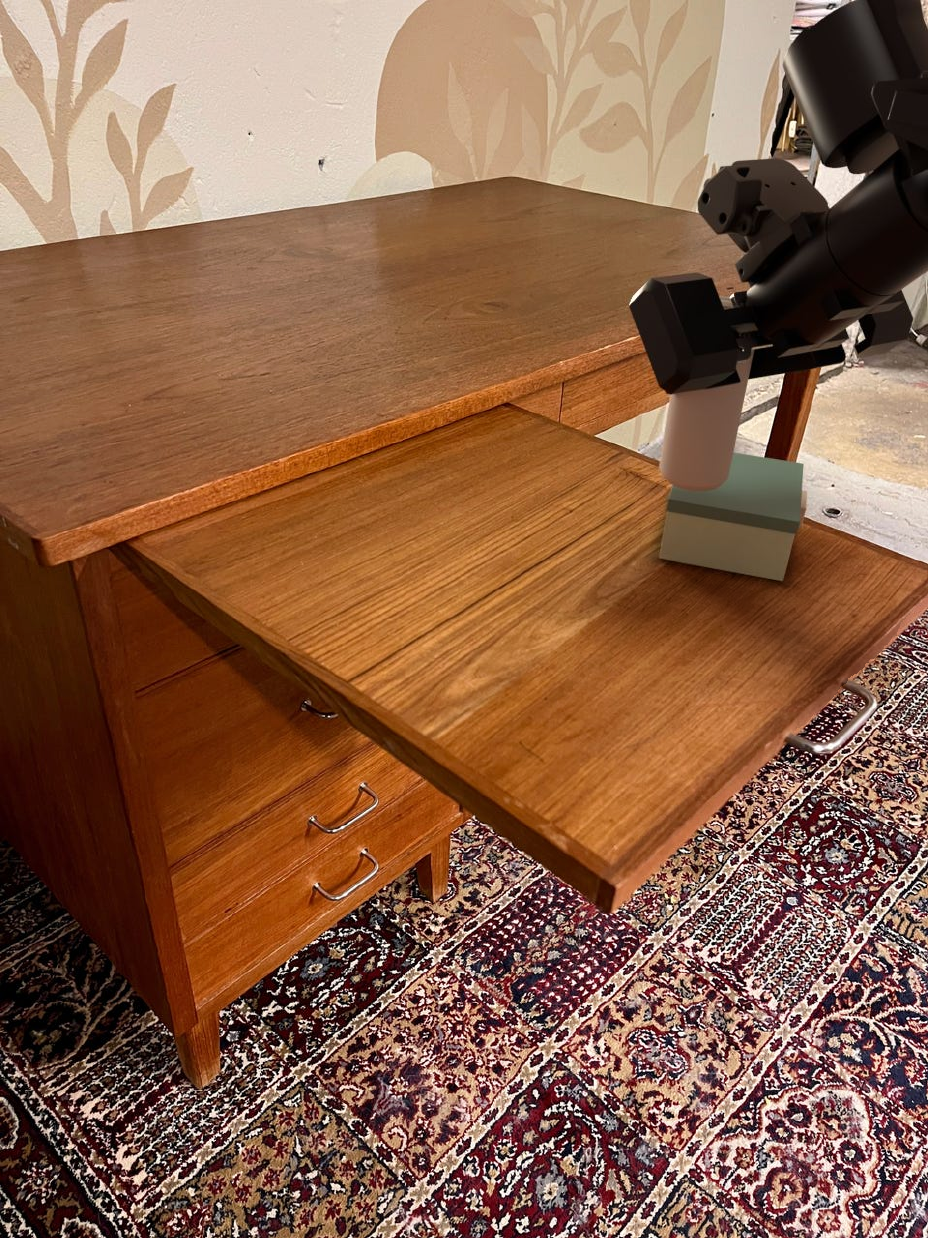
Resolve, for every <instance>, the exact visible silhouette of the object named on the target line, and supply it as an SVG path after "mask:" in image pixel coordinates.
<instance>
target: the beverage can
mask: <svg viewBox="0 0 928 1238" xmlns="http://www.w3.org/2000/svg"><path fill="white" fill-rule="evenodd" d="M719 297H720V300H721V302H722V305H723V307H724V309H730V308H734V307H733V305H732V302H731V299H730V297H731V296H722V295H719ZM753 354H754V350H751V357H750V358H749V359H748V360H747V361H746V362H744V363H740V364H737V365H736V370H737V372H738V375H739V378H740V380H741V382H740V383H738V384H732V385H727V386H722V387H717V388H712V389H703V390H696V391H688V392H682V393H676V394H671V395H670V394H669V400H668V405H667V406H668V407H667V413H666V420H665V426H664V434H663V440H662V446H661V454H660V459H659V465H658V468H659V471H660V474H661V475H662V477H663V479H664V480H665V481H667V483H668V484H670V485H674V486H676V487H678V488H681V489H684V490H690V491H709V490H713V489H716V488H718V487H719V486H721V485H722V484H723V483H724V482H725V481H726V480H727V479H728V476H729V471H730V467H731V462H732V457H733V453H735V452H734V451H735V446H736V442H737V436H738V432H739V428H740V423H741V416H742V412H743V407H744V403H745V398H746V393H747V388H748V383H749V380H750V379H749V374H750V369H751V364H752V359H753ZM748 379H749V380H748Z"/></svg>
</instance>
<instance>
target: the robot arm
mask: <svg viewBox="0 0 928 1238" xmlns="http://www.w3.org/2000/svg"><path fill="white" fill-rule="evenodd" d="M922 5H923V4H922V1H921V0H852V1H850V2H848V3H846V4H844V5H842V6H839V7H838V8H836V9H834V10H833V11H831V12H829V13H827V15H825V16H824V17H822V18H821V19H819V20H818V21H817V22H815V23H814V24H810V25H808V26H806V27H804V28H803V29H802V30H801V31H800V32H799V34H798V35H796V36H795V38H794V39H793V40H792V41H791V43H790V45H789V46H788V48H787V50H786V51H785V54H784V56H783V61H782V68H783V72H784V75H785V77H786V79H787V81H788V85H789V87H790V89H791V92H792V94H793V96H794V98H795V101H796V104H797V106H798V109H799V111H800V114H801V116H802V118H803V121H804V123H805V125H806V128H807V130H808V132H809V135H810V138H811V141H812V143H813V145H814V147H815V151H816V152H817V155H818V157H819V160H820V162H821V165H823V166H824V167H825V168H829V169H842V168H847V170H848V172H849V174H851V175H862V174H863V175H864V174H867V173H869V174H868V175H866V176H865V177H864V178H863V179H862V180H861V181H860V182H859V183H857V184H856V185H855V186H854V187H853V188H852V189H850V190H849V191H848V192H847V193H846V194H845V195H844V196H843V197H842V198H840V199H839V200H837V202H836V203H834V204H833V205H832V206H831V207H830V206H829V202H828V200H827V199H826V198H825V196H823V194H822V193H821V192H820V191H819V190H818V188H816V187H815V186H814V184H813V183H812V182H811V181H810V180H809V179H808V178H807V176H805V175H804V174H803V173H802V172H801V170H799V168H798V167H796V166H795V165H794V164H793V163H792V162H790V161H788V160H785V159H782V158H777V157H776V158H775V157H774V158H759V159H745V160H744V159H743V160H736V161H733V162H732V164H731V165H721V166H720V167H719V169H718V171H717V172H716V173H715V174H714V175H713V176H712V177H709V178H707V179H705V181H704V183H703V185H702V186H703V187H702V191H701V192H700V194H699V197H698V199H697V202H696V203H697V212H698V214H699V215H700V216H701V218H702V219H703V220H704V221H705V223H706V224H707V225H708V226H709V227H710V229H712V231H713V232H714V233H715V234H716V236H717V235H718V236H719V235H727V236H728V237H729V239H731V241H733V243H734V244H735V245H736V247H738V248H739V249H740V251H742V252H743V253H744V254H743V255H742V256H741V257H740V258H739V259H738V260H736V261H735V262H734V267H735V269H736V272H737V275H738V277H739V279H740V281H741V283H748V286H749V289H748V290H742V291H735V292H734V293H732V294H731V295H730V296H729V297H730V299H731V302H732V305H733V307H734V308H730V309H724V307H723V305H722V302H721V300H720V297H719V296H720V294H719V292H718V290H717V287H716V285H715V281H714V279H713V277H711V276H709V275H705V274H704V273H700V272H697V271H696V272H689V273H688V272H687V273H681V274H680V273H679V274H672V275H665V276H657V277H650V278H649V279H648V280H647V281H646V282H645V283H644V284H643V285H642V286H641V287H640V288H639V289H638V290H637V291H636V292H635V293H634V294H633V296H632V298H631V300H630V302H629V305H628V308H629V310H630V314H631V316H632V318H633V321H634V323H635V326H636V329H637V331H638V334H639V337H640V339H641V343H642V345H643V348H644V350H645V353H646V356H647V358H648V360H649V363H650V366H651V369H652V371H653V374H654V377H655V379H656V382H657V385H658V387H659V389H662V390H663V391H664V392H665V394H666V395H669V396H670V395H671V394H676V393H682V392H688V391H696V390H703V389H712V388H717V387H722V386H727V385H732V384H738V383H740V382H741V380H740V378H739V375H738V372H737V370H736V365H737V364H740V363H744V362H746V361H747V360H748V359H749V358H750V357H751V350H754V354H753V359H752V364H751V369H750V374H749V379H748V381H749V380H754V379H761V378H767V377H772V376H778V375H785V374H790V373H798V372H802V371H809V370H815V369H820V368H825V367H830V366H831V367H832V366H836V365H840V364H842V363H844V362H845V361H846V359H847V355H846V354H847V353H846V350H845V347H844V346H843V343H845V342H846V341H848V340H849V339H850V335H849V333H848V330H847V328H849V327H851V326H852V325H853V324H854V323H856V322H858V324H859V326H860V329H861V331H862V334H863V336H864V339H862V340H861V341H859V342H857V344H855V345H854V346H853V351H854V354H855V357H856V359H857V360H858V359H863V358H868V357H875V356H878V355H884V354H887V353H889V352H890V351H892V350H893V349H894V348H896V347H898V346H899V345H901V344H902V343H904V342H906V341H907V340H908V339H909V336H910V332H911V329H912V326H913V322H914V316H913V314H912V311H911V309H910V306H909V304H908V301H907V299H906V297H905V294H904V293H903V289H905V288H906V287H907V286H909V285H910V284H911V283H913V282H914V281H916V280H917V279H919V278H920V277H922V276H923V275H924V274H926V273H928V26H927V23H926V21H925V17H924V12H923V6H922Z"/></svg>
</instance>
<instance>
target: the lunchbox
mask: <svg viewBox="0 0 928 1238" xmlns="http://www.w3.org/2000/svg"><path fill="white" fill-rule="evenodd" d="M804 464H805V463H802V462H795V461H791V460H790V461H789V460H783V459H782V460H781V459H778V458H771V457H764V456H758V455H751V454H746V453H739V452H733V457H732V462H731V467H730V471H729V476H728V479H727V480H726V481H725V482H724V483H723V484H722V485H721V486H719V487H718V488H716V489H713V490H709V491H690V490H684V489H681V488H678V487H676V486H674V485H672V484H671V485H672V486H671V489H670V492H669V495H668V498H667V503H666V508H665V512H666V517H665V522H664V529H663V533H662V540H661V544H660V545H661V546H660V552H659V557H658V558H659V559H661V560H666V561H671V562H677V563H682V564H686V565H687V564H688V565H693V566H699V567H704V568H708V569H714V570H719V571H725V572H731V573H736V574H742V575H746V576H751V577H757V578H764V579H768V580H773V581H779V582H783V581H784V578H785V574H786V570H787V567H788V563H789V559H790V556H791V552H792V549H793V544H794V540H795V536H796V535H797V534H798V531H799V528H801V527H803V523H804V519H805V516H806V512H807V508H808V507H807V506H808V503H807V502H808V491H807V490H803V481H804V480H803V479H804Z"/></svg>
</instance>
